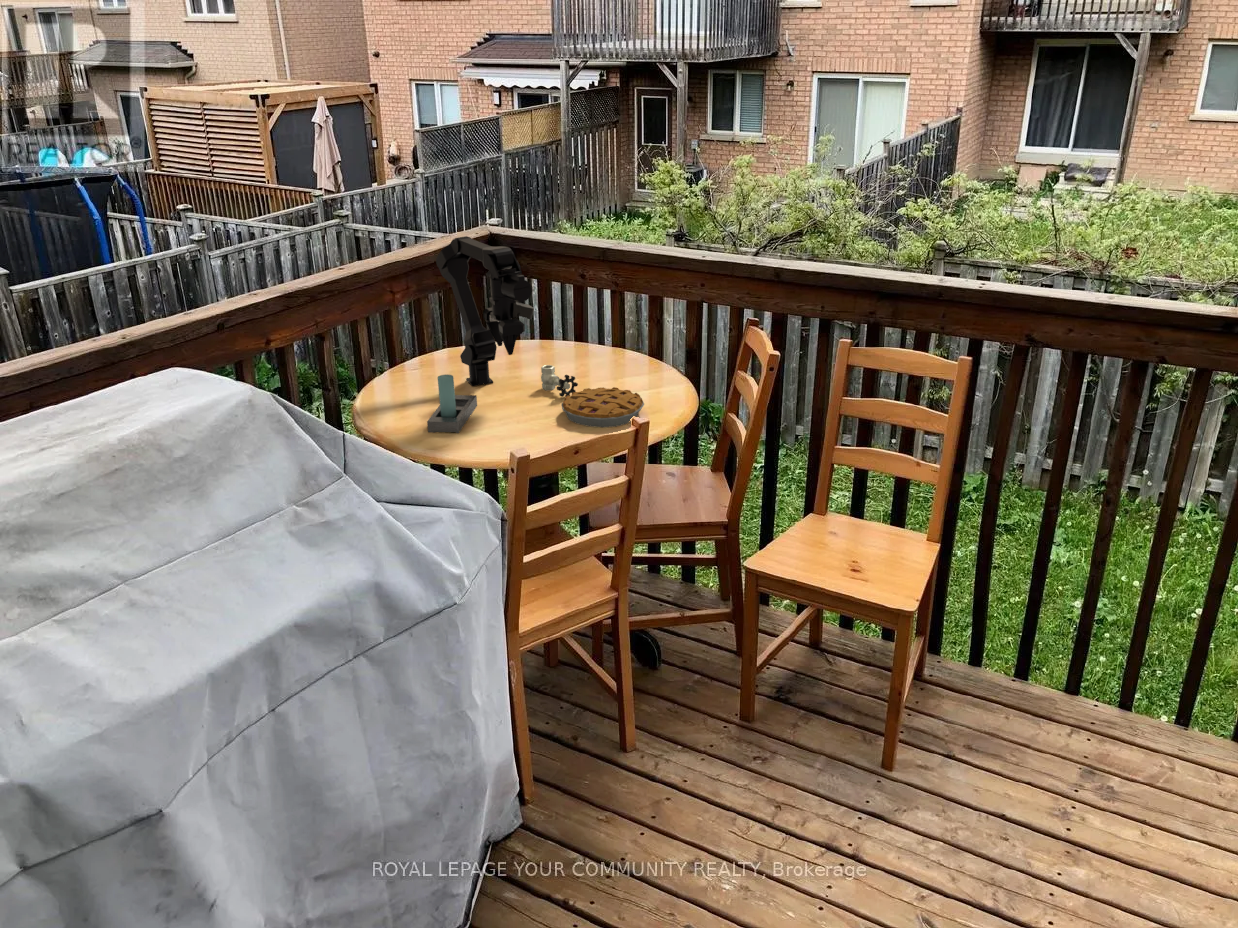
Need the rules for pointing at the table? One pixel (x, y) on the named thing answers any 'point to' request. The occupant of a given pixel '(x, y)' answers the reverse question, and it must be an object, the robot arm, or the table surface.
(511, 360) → the table surface
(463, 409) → the grey slotted block
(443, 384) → the dowel
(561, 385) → the valve
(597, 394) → the pie
